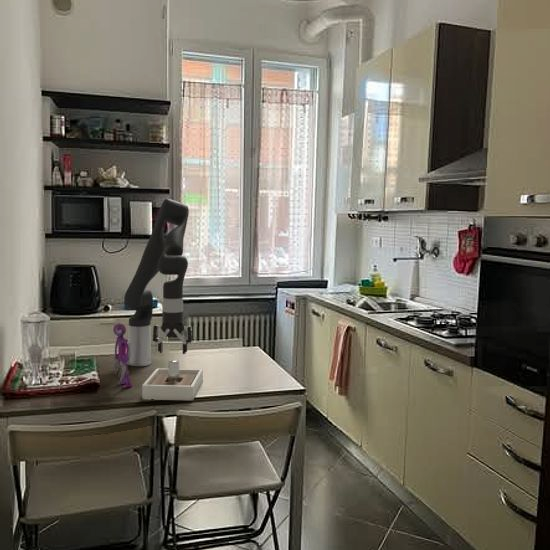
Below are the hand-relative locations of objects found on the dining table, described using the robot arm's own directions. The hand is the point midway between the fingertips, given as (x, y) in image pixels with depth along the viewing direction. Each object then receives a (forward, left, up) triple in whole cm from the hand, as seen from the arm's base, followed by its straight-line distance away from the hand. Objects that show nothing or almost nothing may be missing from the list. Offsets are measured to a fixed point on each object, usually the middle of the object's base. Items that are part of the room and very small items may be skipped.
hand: (172, 353), depth 209 cm
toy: (-21, +3, -14) cm, 25 cm away
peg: (0, 0, -13) cm, 13 cm away
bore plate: (0, 0, -14) cm, 14 cm away
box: (0, 0, -14) cm, 14 cm away
